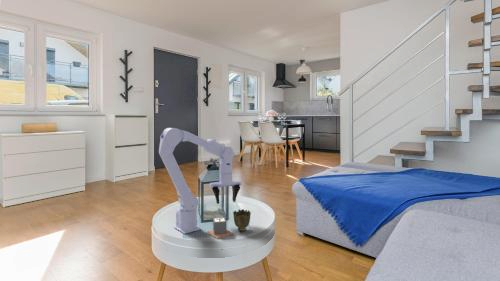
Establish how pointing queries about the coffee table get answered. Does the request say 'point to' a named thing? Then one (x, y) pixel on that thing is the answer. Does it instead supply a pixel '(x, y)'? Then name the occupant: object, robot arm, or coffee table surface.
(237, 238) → the coffee table surface
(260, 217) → the coffee table surface
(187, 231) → the robot arm
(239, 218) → the cup
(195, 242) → the coffee table surface
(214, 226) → the letter block
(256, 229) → the coffee table surface
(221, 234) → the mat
